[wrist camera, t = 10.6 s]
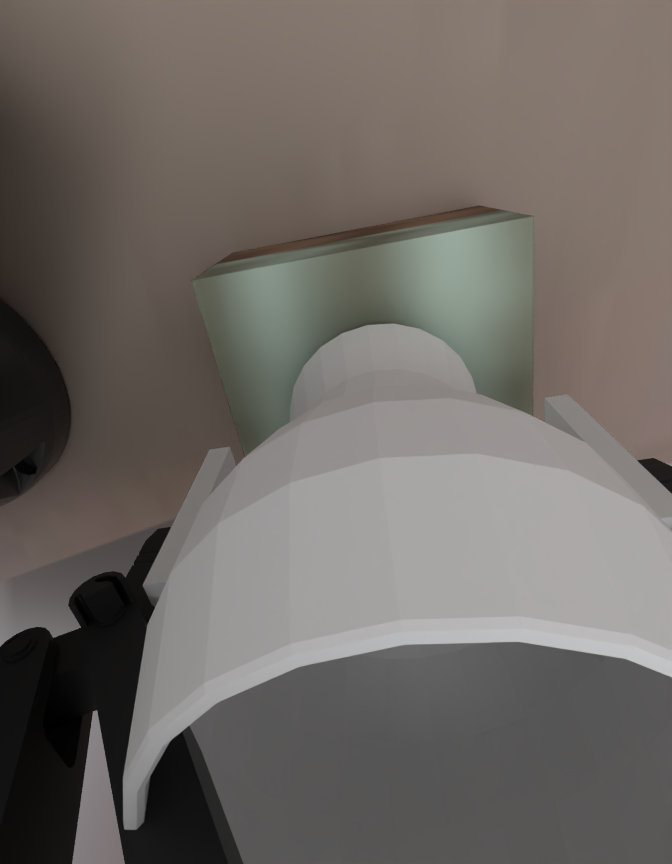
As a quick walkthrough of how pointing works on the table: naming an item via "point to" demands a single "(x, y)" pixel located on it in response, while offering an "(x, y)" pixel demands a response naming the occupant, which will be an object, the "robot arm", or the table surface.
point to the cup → (418, 632)
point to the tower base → (373, 305)
